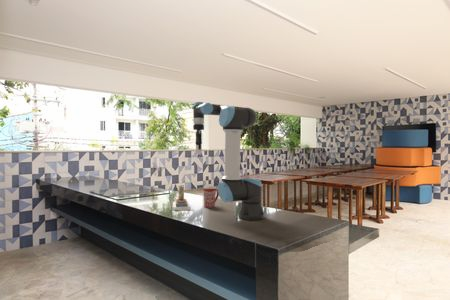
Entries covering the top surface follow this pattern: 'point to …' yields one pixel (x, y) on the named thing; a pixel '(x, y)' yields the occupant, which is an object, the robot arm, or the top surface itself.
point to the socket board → (181, 205)
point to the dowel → (181, 193)
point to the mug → (210, 196)
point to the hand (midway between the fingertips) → (198, 154)
